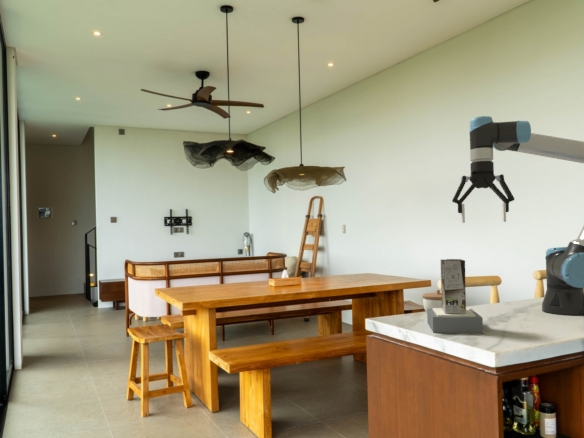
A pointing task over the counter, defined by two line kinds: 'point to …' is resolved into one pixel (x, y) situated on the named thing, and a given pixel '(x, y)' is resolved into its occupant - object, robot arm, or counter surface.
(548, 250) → the robot arm
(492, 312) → the counter surface
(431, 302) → the lidded jar
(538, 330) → the counter surface
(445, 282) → the coffee box
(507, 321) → the counter surface
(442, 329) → the dock
